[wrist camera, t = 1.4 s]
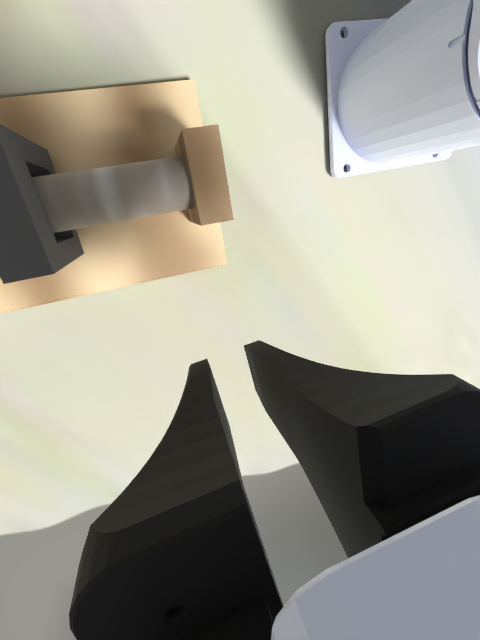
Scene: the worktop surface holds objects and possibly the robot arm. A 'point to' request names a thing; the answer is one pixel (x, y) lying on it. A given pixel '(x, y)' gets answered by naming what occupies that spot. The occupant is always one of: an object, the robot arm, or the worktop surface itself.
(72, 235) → the collar
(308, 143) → the worktop surface
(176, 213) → the pipe rig
